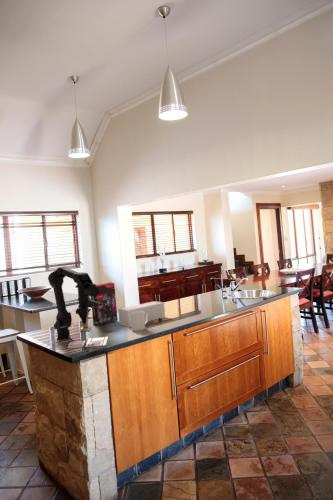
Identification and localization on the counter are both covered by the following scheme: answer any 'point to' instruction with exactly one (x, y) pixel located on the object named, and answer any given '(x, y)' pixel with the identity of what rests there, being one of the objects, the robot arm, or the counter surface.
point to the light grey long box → (152, 308)
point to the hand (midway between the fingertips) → (85, 323)
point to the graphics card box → (105, 305)
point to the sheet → (96, 341)
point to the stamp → (85, 326)
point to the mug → (138, 320)
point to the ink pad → (76, 344)
